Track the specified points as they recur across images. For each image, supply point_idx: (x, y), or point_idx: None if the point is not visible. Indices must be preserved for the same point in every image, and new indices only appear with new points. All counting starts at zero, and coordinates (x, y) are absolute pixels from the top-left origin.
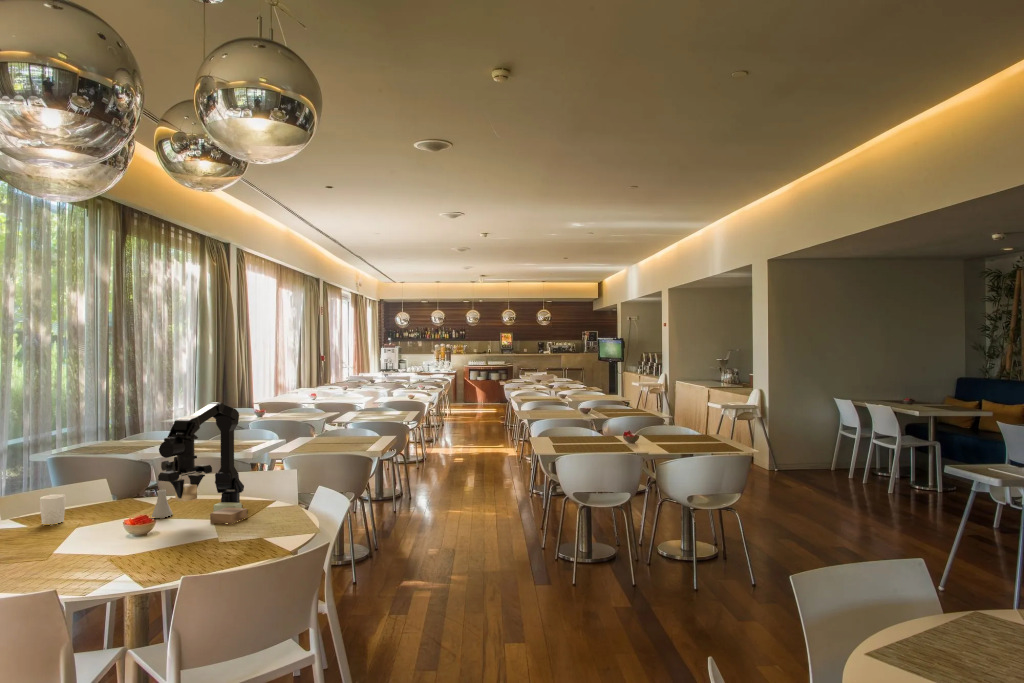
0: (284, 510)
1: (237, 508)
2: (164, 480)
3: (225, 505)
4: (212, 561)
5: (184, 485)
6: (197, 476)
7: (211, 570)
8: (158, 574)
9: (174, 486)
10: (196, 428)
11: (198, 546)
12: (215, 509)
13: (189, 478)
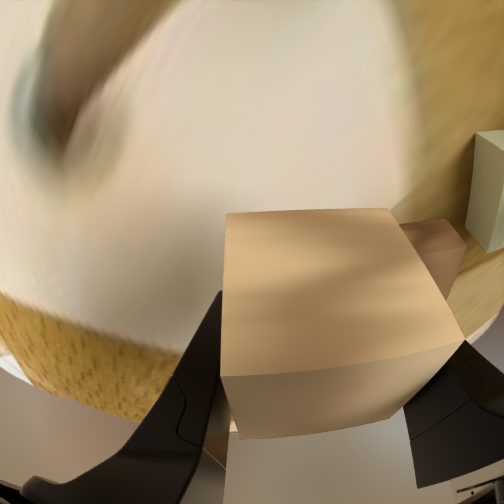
0: (488, 301)
1: (443, 293)
2: (14, 491)
3: (496, 214)
4: (121, 405)
5: (340, 398)
6: (429, 481)
7: (108, 412)
8: (50, 383)
9: (156, 422)
10: None
11: (137, 367)
12: (492, 153)
13: (494, 416)
